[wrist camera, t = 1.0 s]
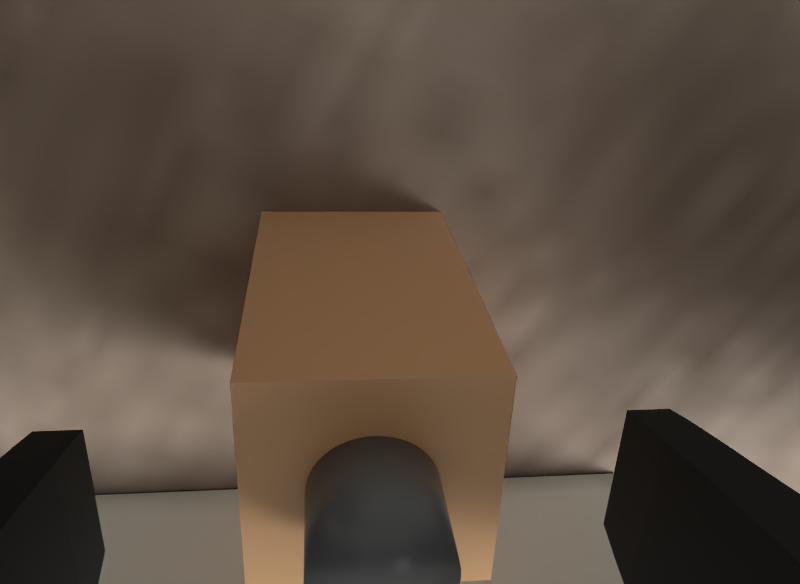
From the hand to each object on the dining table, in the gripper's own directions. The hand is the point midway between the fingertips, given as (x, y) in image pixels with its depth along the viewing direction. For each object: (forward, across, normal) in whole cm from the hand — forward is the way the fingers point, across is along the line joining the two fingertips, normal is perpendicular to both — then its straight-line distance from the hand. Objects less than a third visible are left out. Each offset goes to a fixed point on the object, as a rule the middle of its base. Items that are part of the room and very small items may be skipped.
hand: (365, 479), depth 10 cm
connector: (+6, 0, 0) cm, 6 cm away
